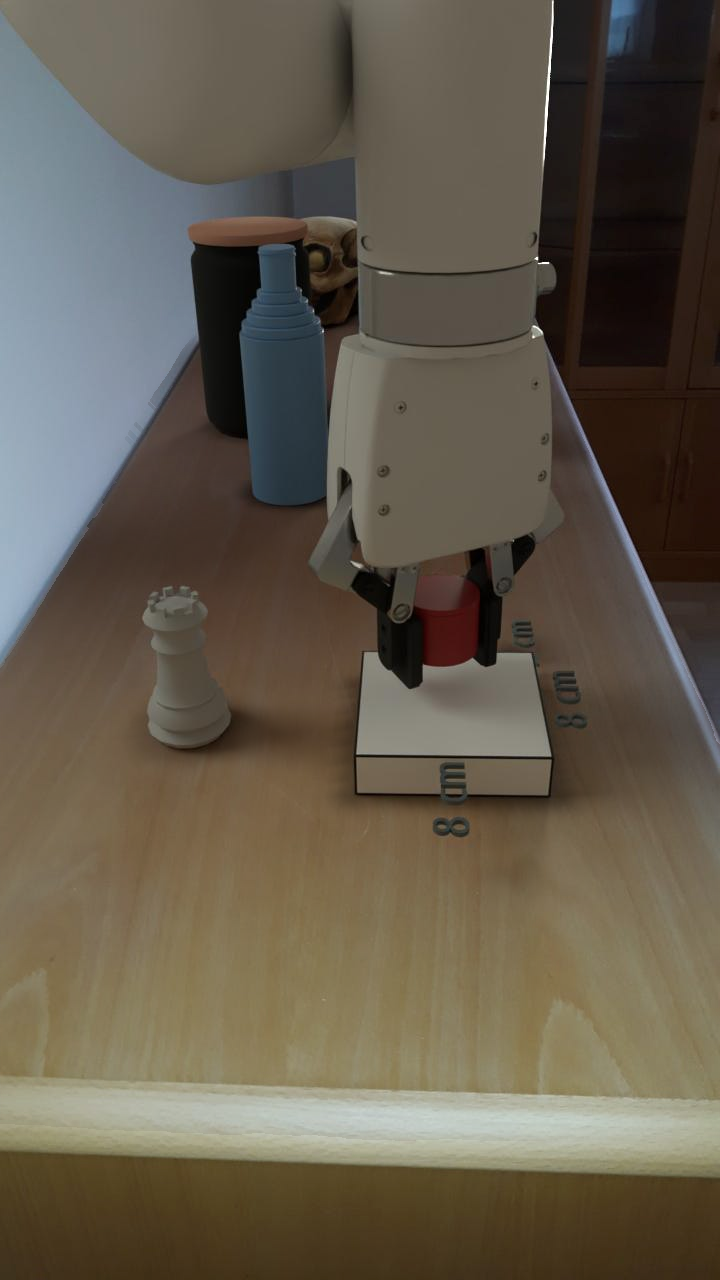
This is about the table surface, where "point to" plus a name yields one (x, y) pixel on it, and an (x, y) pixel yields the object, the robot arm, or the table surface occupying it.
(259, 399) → the bottle
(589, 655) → the table surface
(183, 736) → the rook chess piece
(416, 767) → the container
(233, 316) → the coffee jar
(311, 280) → the skull
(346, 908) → the table surface
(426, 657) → the cap
